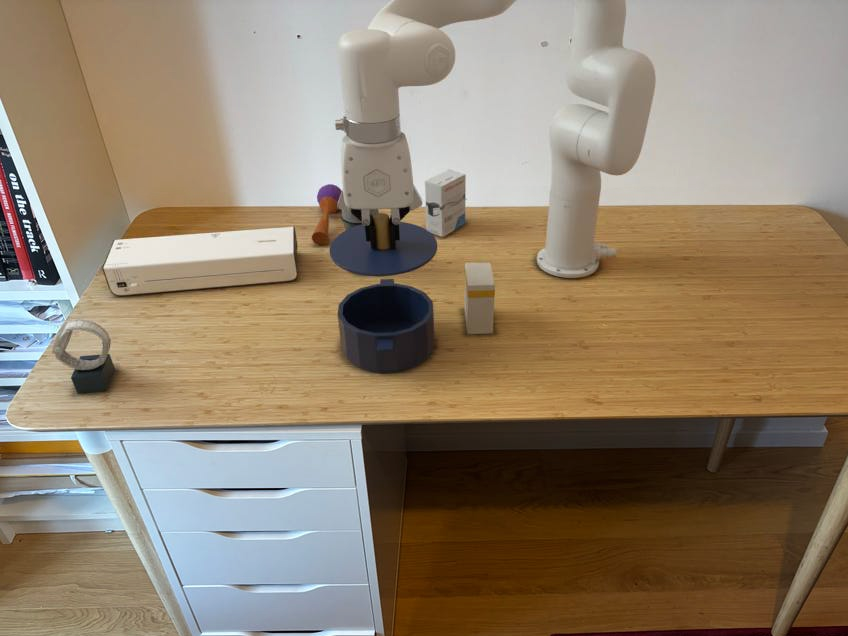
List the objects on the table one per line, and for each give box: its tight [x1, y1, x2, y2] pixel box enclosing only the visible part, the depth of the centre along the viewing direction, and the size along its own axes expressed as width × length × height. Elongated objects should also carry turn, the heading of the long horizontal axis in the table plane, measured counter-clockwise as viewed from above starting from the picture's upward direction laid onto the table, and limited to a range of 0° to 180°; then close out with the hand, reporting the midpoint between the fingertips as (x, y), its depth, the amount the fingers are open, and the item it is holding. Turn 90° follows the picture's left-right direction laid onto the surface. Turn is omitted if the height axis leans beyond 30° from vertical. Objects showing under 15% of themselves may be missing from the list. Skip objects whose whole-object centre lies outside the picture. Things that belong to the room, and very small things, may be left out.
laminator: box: [101, 226, 299, 297], centre depth 137 cm, size 34×12×6 cm, turn 102°
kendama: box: [311, 183, 342, 246], centre depth 156 cm, size 6×6×20 cm
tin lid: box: [329, 212, 438, 277], centre depth 110 cm, size 17×17×6 cm
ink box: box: [424, 169, 467, 238], centre depth 154 cm, size 8×5×12 cm, turn 144°
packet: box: [464, 262, 496, 335], centre depth 125 cm, size 5×8×10 cm, turn 5°
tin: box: [337, 278, 435, 374], centre depth 120 cm, size 16×21×8 cm
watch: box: [51, 318, 116, 394], centre depth 110 cm, size 6×8×11 cm
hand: (383, 243), depth 111 cm, fingers closed on tin lid, 2 cm apart
